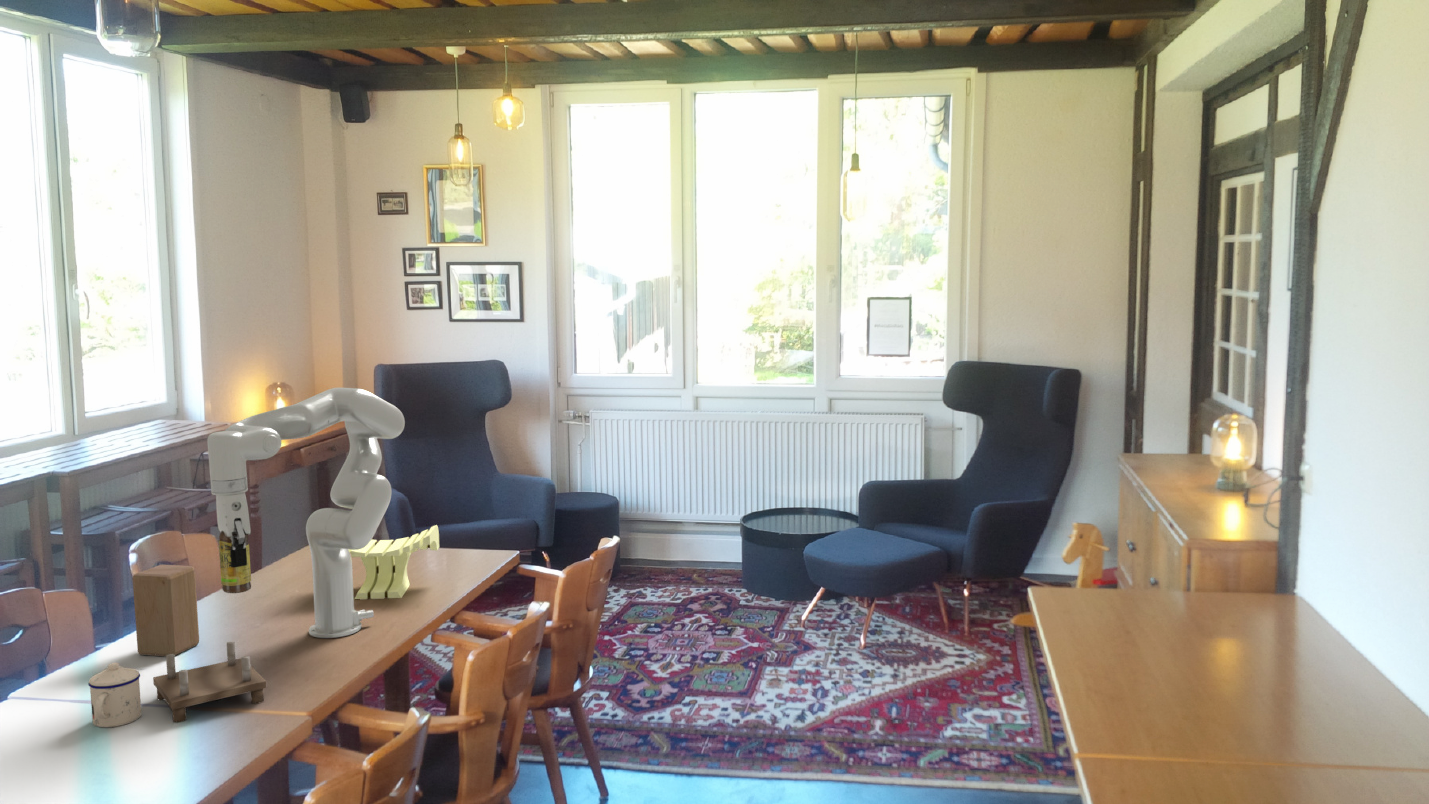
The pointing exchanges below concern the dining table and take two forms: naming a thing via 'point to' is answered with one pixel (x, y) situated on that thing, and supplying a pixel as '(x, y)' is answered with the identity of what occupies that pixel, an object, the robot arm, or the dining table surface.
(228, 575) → the sauce bottle
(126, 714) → the teacup with lid
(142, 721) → the dining table surface
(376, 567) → the slatted curved stool
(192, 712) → the dining table surface
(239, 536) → the robot arm
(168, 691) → the peg shelf
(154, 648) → the wooden block
